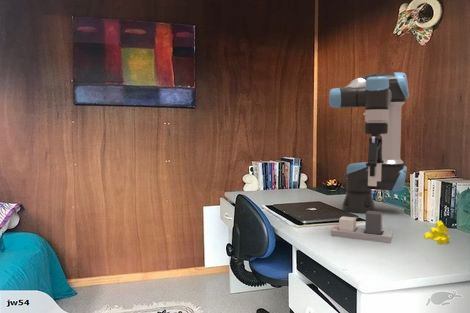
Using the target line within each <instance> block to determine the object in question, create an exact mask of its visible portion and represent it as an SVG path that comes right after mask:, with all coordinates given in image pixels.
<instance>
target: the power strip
mask: <svg viewBox="0 0 470 313" xmlns="http://www.w3.org/2000/svg"><path fill="white" fill-rule="evenodd" d="M330 236H331V237H338V238H346V239H352V240H353V239H354V240H362V241H371V242H377V243H386V244H387V243H388V244H391V243H392V241H393V237H394V231H392V230H385V229H384V230H383V229H382V235H374V234H365V227H356V231H355V232H347V231H339V224H338V225H337V224H336V225H335V226H333V228H332V229H331V230H330Z"/></svg>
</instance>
